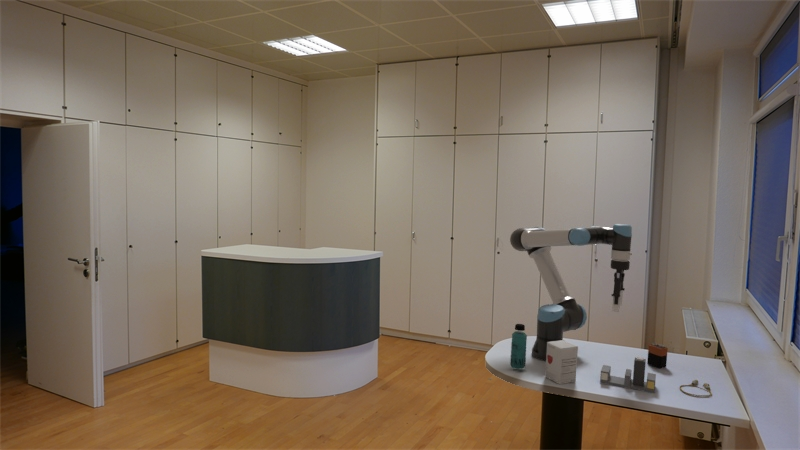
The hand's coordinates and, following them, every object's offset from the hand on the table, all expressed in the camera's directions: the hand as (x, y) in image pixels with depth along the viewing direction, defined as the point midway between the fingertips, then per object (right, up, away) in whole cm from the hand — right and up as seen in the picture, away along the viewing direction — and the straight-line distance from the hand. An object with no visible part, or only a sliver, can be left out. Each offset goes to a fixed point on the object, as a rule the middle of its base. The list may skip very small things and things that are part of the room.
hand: (617, 308), depth 230 cm
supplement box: (-29, -28, -12) cm, 42 cm away
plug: (+1, -28, -18) cm, 33 cm away
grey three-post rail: (-3, -28, -16) cm, 33 cm away
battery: (+20, -27, +6) cm, 34 cm away
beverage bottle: (-44, -26, -3) cm, 51 cm away
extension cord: (+24, -30, -20) cm, 43 cm away
